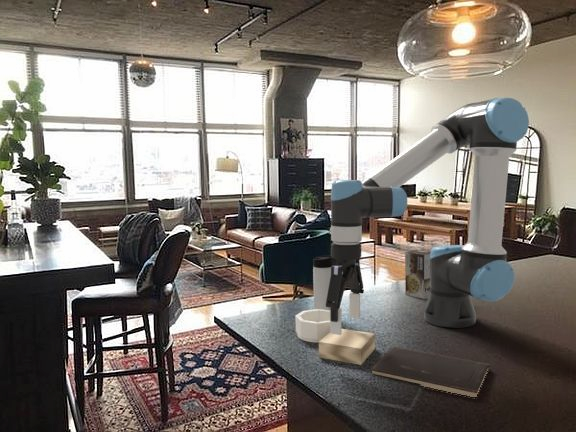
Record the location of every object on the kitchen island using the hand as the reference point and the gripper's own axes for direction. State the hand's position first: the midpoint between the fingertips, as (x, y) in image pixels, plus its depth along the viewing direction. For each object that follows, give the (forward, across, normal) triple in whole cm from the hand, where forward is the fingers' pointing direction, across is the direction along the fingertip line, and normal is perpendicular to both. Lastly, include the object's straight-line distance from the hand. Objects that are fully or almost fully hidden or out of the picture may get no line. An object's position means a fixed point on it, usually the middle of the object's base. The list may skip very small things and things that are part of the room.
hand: (345, 325), depth 121 cm
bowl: (+8, -9, -12) cm, 17 cm away
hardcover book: (+8, +2, +21) cm, 23 cm away
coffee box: (+7, -62, +5) cm, 63 cm away
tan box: (+7, 0, 0) cm, 7 cm away
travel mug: (+8, -25, -17) cm, 31 cm away
